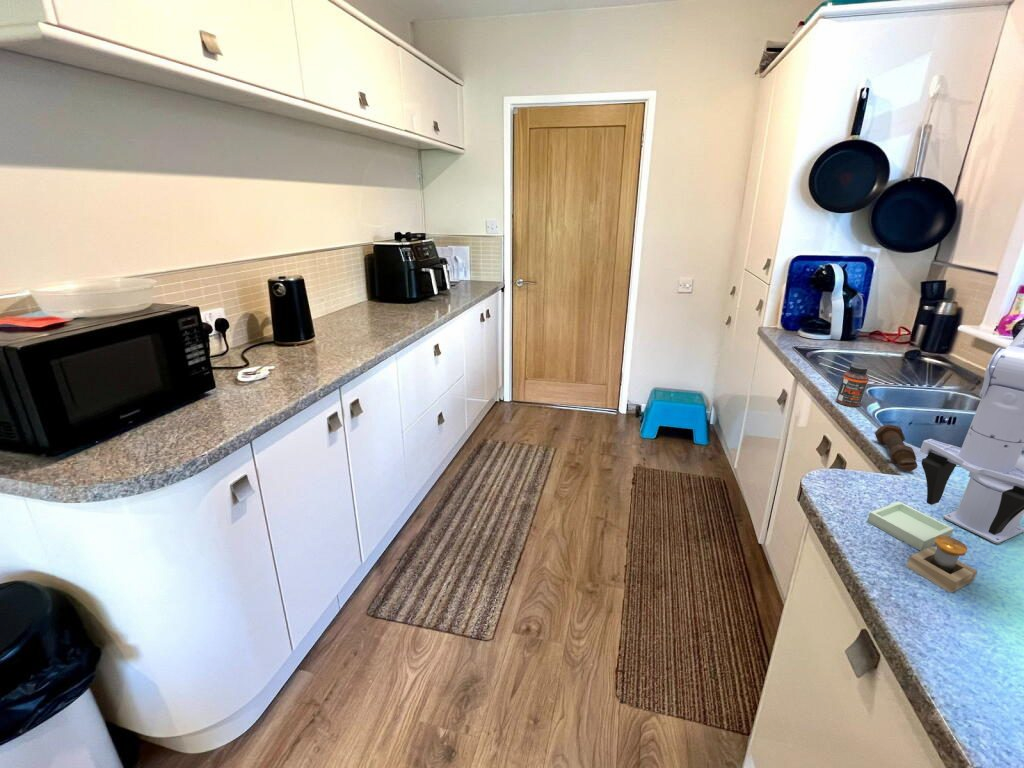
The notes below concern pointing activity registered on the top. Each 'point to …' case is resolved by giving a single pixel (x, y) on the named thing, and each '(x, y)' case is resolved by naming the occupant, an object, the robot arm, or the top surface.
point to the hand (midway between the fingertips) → (962, 516)
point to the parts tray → (909, 525)
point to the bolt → (897, 447)
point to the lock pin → (947, 553)
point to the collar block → (941, 571)
